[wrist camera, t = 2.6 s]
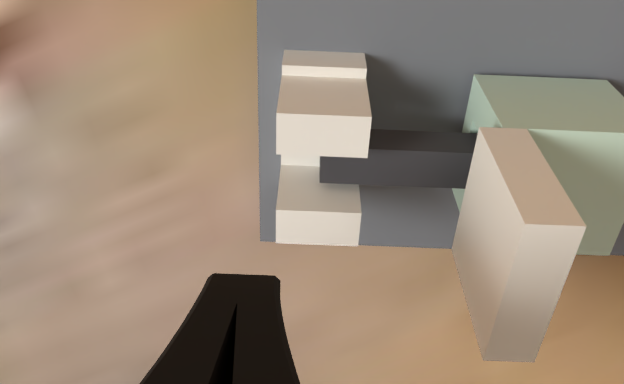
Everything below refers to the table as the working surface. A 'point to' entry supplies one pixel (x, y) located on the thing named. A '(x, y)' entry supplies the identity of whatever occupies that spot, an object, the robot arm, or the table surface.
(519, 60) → the board
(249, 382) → the robot arm
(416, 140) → the dark grey bar
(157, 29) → the table surface
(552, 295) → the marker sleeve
